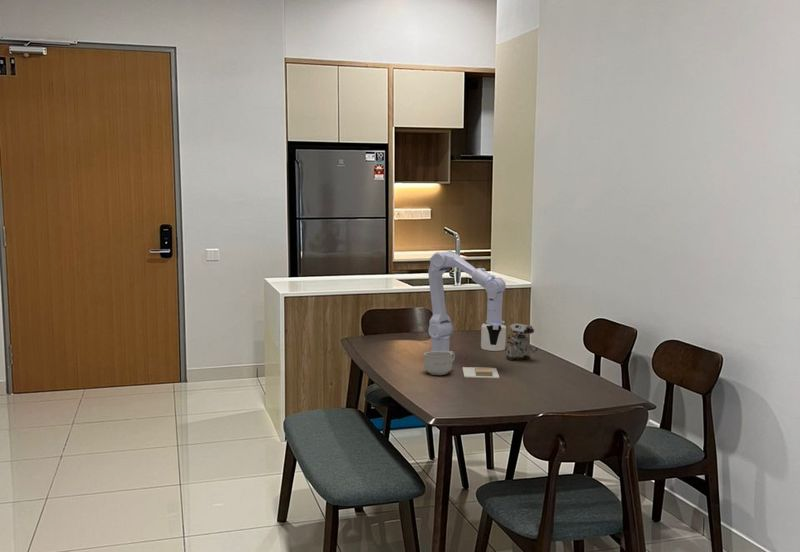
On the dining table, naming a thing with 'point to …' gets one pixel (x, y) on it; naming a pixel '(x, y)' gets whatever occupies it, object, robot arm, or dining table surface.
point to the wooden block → (483, 371)
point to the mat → (471, 373)
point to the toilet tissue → (486, 340)
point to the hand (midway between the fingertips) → (493, 344)
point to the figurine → (519, 341)
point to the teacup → (438, 362)
